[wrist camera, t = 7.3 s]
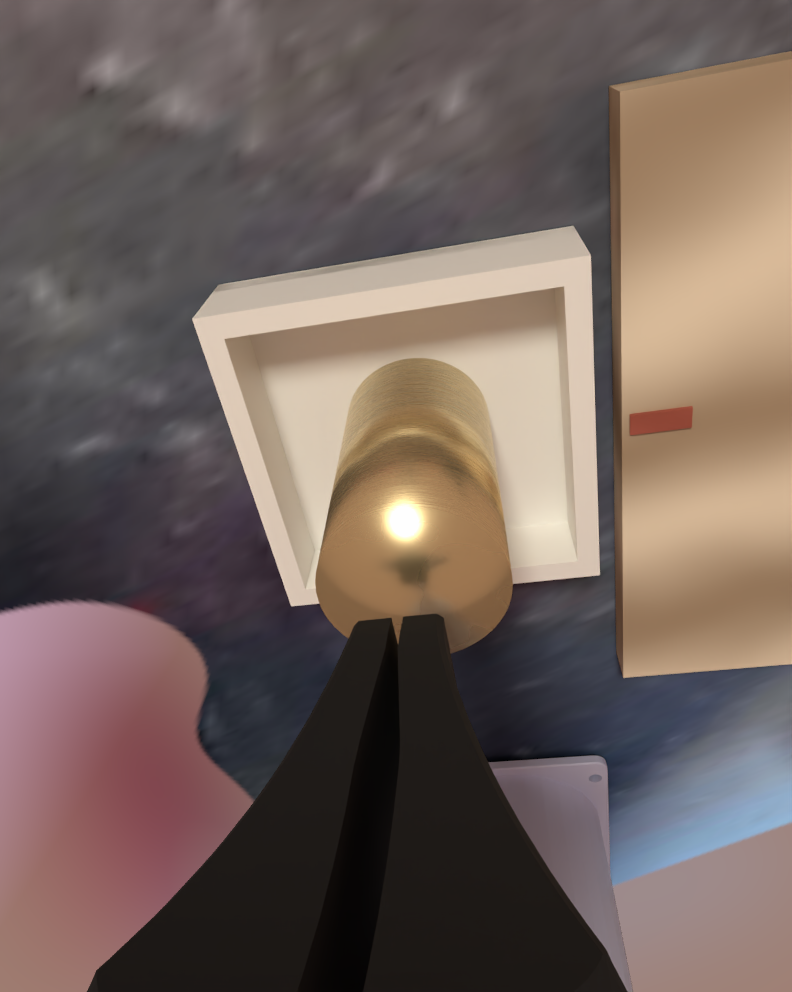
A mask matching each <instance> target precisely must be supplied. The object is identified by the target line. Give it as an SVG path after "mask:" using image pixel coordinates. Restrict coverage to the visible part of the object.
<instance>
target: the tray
mask: <svg viewBox="0 0 792 992" xmlns="http://www.w3.org/2000/svg"><path fill="white" fill-rule="evenodd" d="M192 320H193V323H194V326H195V329H196V331H197V334H198V337H199V340H200V343H201V346H202V349H203V352H204V355H205V358H206V360H207V363H208V366H209V369H210V372H211V375H212V378H213V381H214V384H215V387H216V389H217V392H218V395H219V398H220V401H221V404H222V407H223V410H224V413H225V416H226V418H227V421H228V424H229V427H230V430H231V433H232V436H233V439H234V442H235V445H236V447H237V450H238V453H239V456H240V459H241V462H242V465H243V468H244V471H245V474H246V476H247V479H248V482H249V485H250V488H251V491H252V494H253V497H254V500H255V503H256V505H257V508H258V511H259V514H260V517H261V520H262V523H263V526H264V529H265V532H266V534H267V537H268V540H269V543H270V546H271V549H272V552H273V555H274V558H275V561H276V563H277V566H278V569H279V572H280V575H281V578H282V581H283V584H284V587H285V590H286V592H287V595H288V598H289V601H290V604H291V606H299V605H309V604H319V601H318V597H317V594H316V586H315V578H316V570H317V565H318V560H319V555H320V550H321V545H322V540H323V535H324V530H325V525H326V520H327V515H328V510H329V505H330V500H331V495H332V490H333V485H334V480H335V475H336V470H337V465H338V460H339V455H340V450H341V445H342V440H343V435H344V430H345V425H346V420H347V415H348V410H349V406H350V402H351V400H352V397H353V395H354V393H355V392H356V390H357V388H358V387H359V386H360V384H361V383H362V382H363V381H364V380H365V379H366V378H367V377H368V376H369V375H370V374H372V373H373V372H374V371H376V370H377V369H379V368H381V367H383V366H384V365H387V364H389V363H392V362H394V361H398V360H402V359H409V358H427V359H434V360H438V361H442V362H445V363H447V364H450V365H452V366H454V367H456V368H457V369H459V370H461V371H462V372H463V373H465V374H466V375H467V376H468V377H470V378H471V379H472V380H473V381H474V383H475V384H476V385H477V386H478V388H479V389H480V391H481V392H482V394H483V396H484V398H485V401H486V403H487V407H488V411H489V418H490V425H491V432H492V439H493V446H494V453H495V460H496V467H497V474H498V481H499V488H500V495H501V502H502V509H503V515H504V522H505V529H506V536H507V543H508V550H509V557H510V564H511V571H512V580H513V584H517V583H527V582H537V581H547V580H557V579H567V578H577V577H587V576H597V575H600V562H599V527H598V492H597V457H596V421H595V386H594V351H593V316H592V280H591V255H590V253H589V251H588V250H587V248H586V246H585V245H584V243H583V241H582V240H581V238H580V236H579V235H578V233H577V231H576V229H575V228H574V226H569V227H563V228H557V229H551V230H545V231H539V232H533V233H527V234H521V235H515V236H509V237H503V238H497V239H491V240H485V241H478V242H472V243H466V244H460V245H454V246H448V247H442V248H436V249H430V250H424V251H418V252H412V253H406V254H400V255H394V256H388V257H382V258H376V259H370V260H364V261H358V262H352V263H346V264H340V265H334V266H328V267H322V268H316V269H310V270H304V271H298V272H292V273H286V274H280V275H274V276H268V277H262V278H256V279H250V280H244V281H238V282H232V283H226V284H220V285H218V286H217V287H216V289H215V290H214V291H213V293H212V294H211V295H210V297H209V298H208V299H207V300H206V302H205V303H204V304H203V306H202V307H201V308H200V310H199V311H198V312H197V313H196V315H195V316H194V317H193V319H192Z"/></svg>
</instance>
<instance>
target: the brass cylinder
mask: <svg viewBox="0 0 792 992" xmlns="http://www.w3.org/2000/svg"><path fill="white" fill-rule="evenodd" d="M315 586H316V594H317V597H318V601H319V604H320V606H321V608H322V610H323V612H324V613H325V615H326V617H327V618H328V620H329V621H330V622H331V623H332V624H333V625H334V627H335V628H336V629H338V630H339V631H340V632H341V633H342V634H343V635H345V636H346V637H347V638H349V637H350V634H351V632H352V629H353V627H354V625H355V624H356V623H357V622H358V621H363V620H373V619H383V618H392V622H393V626H394V630H395V635H396V639H397V643H399V636H400V630H401V625H402V620H403V617H404V616H414V615H425V614H435V613H437V614H439V615H440V616H442V617H443V618H444V622H445V627H446V633H447V638H448V643H449V648H450V653H454V652H457V651H459V650H462V649H465V648H467V647H469V646H471V645H473V644H474V643H476V642H478V641H479V640H481V639H482V638H484V637H485V636H486V635H487V634H489V633H490V632H491V631H492V630H493V629H494V628H495V627H496V626H497V625H498V623H499V622H500V621H501V619H502V618H503V616H504V615H505V613H506V611H507V609H508V606H509V604H510V600H511V597H512V589H513V580H512V571H511V564H510V557H509V550H508V543H507V536H506V529H505V522H504V515H503V509H502V502H501V495H500V488H499V481H498V474H497V467H496V460H495V453H494V446H493V439H492V432H491V425H490V418H489V411H488V407H487V403H486V401H485V398H484V396H483V394H482V392H481V391H480V389H479V388H478V386H477V385H476V384H475V383H474V381H473V380H472V379H471V378H470V377H468V376H467V375H466V374H465V373H463V372H462V371H461V370H459V369H457V368H456V367H454V366H452V365H450V364H447V363H445V362H442V361H438V360H434V359H427V358H409V359H402V360H398V361H394V362H392V363H389V364H387V365H384V366H383V367H381V368H379V369H377V370H376V371H374V372H373V373H372V374H370V375H369V376H368V377H367V378H366V379H365V380H364V381H363V382H362V383H361V384H360V386H359V387H358V388H357V390H356V392H355V393H354V395H353V397H352V400H351V402H350V406H349V410H348V415H347V420H346V425H345V430H344V435H343V440H342V445H341V450H340V455H339V460H338V465H337V470H336V475H335V480H334V485H333V490H332V495H331V500H330V505H329V510H328V515H327V520H326V525H325V530H324V535H323V540H322V545H321V550H320V555H319V560H318V565H317V570H316V578H315Z"/></svg>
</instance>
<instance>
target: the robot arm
mask: <svg viewBox="0 0 792 992" xmlns="http://www.w3.org/2000/svg"><path fill="white" fill-rule="evenodd" d="M87 992H633V989H632V984H631V979H630V974H629V969H628V963H627V958H626V953H625V948H624V943H623V938H622V933H621V928H620V923H619V917H618V912H617V907H616V902H615V897H614V892H613V887H612V882H611V877H610V843H609V804H608V769H607V764H606V761H605V759H604V758H603V757H600V756H597V755H590V756H575V757H560V758H545V759H530V760H515V761H501V762H488V761H487V759H486V757H485V755H484V753H483V750H482V748H481V746H480V744H479V742H478V739H477V737H476V735H475V732H474V730H473V728H472V726H471V723H470V721H469V718H468V716H467V713H466V711H465V708H464V705H463V702H462V700H461V697H460V694H459V691H458V689H457V685H456V680H455V674H454V669H453V664H452V659H451V653H450V648H449V643H448V638H447V633H446V627H445V622H444V618H443V617H442V616H440V615H439V614H437V613H435V614H425V615H414V616H404V617H403V620H402V625H401V630H400V636H399V643H397V639H396V635H395V630H394V626H393V622H392V618H383V619H373V620H363V621H358V622H357V623H356V624H355V625H354V627H353V629H352V632H351V634H350V637H349V639H348V641H347V643H346V646H345V648H344V650H343V652H342V655H341V657H340V659H339V661H338V663H337V665H336V667H335V669H334V671H333V673H332V675H331V677H330V679H329V681H328V683H327V685H326V687H325V689H324V691H323V693H322V694H321V696H320V698H319V700H318V702H317V704H316V706H315V707H314V709H313V711H312V713H311V715H310V717H309V718H308V720H307V722H306V724H305V725H304V727H303V728H302V730H301V732H300V733H299V735H298V737H297V738H296V740H295V742H294V743H293V745H292V746H291V748H290V750H289V751H288V753H287V755H286V756H285V758H284V759H283V761H282V762H281V764H280V765H279V767H278V768H277V770H276V771H275V773H274V774H273V776H272V777H271V779H270V780H269V782H268V783H267V785H266V786H265V787H264V789H263V790H262V792H261V793H260V794H259V796H258V797H257V798H256V800H255V801H254V803H253V804H252V805H251V807H250V808H249V809H248V811H247V812H246V813H245V814H244V816H243V817H242V818H241V819H240V821H239V822H238V823H237V824H236V826H235V827H234V828H233V830H232V831H231V832H230V833H229V835H228V836H227V837H226V838H225V840H224V841H223V842H222V843H221V844H220V846H219V847H218V848H217V849H216V851H215V852H214V853H213V854H212V855H211V856H210V857H209V858H208V860H207V861H206V862H205V863H204V864H203V865H202V866H201V867H200V868H199V869H198V871H197V872H196V873H195V874H194V875H193V876H192V877H191V878H190V879H189V880H188V881H187V883H185V885H184V886H183V887H182V888H181V889H180V890H179V891H178V892H177V893H176V895H174V896H173V897H172V899H171V900H170V901H169V902H168V903H167V904H166V905H165V906H164V907H163V908H162V909H161V910H160V911H159V912H158V913H157V914H156V915H155V916H154V917H153V918H152V919H151V920H150V921H149V922H148V923H147V924H146V925H145V926H144V927H143V928H141V929H140V930H139V931H138V932H137V933H136V934H135V935H134V936H133V937H132V938H131V939H130V940H129V941H128V942H127V943H126V944H125V945H124V946H122V947H121V948H120V949H119V950H118V951H117V952H116V953H115V954H114V955H113V956H112V957H111V958H110V959H109V960H108V961H106V962H105V963H104V964H103V965H102V966H101V967H100V968H99V969H98V970H96V973H95V975H94V978H93V980H92V982H91V984H90V987H89V989H88V991H87Z"/></svg>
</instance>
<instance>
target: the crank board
mask: <svg viewBox="0 0 792 992" xmlns="http://www.w3.org/2000/svg"><path fill="white" fill-rule="evenodd" d="M609 130H610V207H611V283H612V360H613V437H614V513H615V590H616V653H617V656H618V660H619V664H620V667H621V671H622V675H623V678H627V677H639V676H651V675H663V674H676V673H688V672H700V671H713V670H725V669H737V668H749V667H762V666H774V665H786V664H792V51H790V52H785V53H779V54H774V55H769V56H764V57H758V58H753V59H748V60H743V61H737V62H732V63H727V64H722V65H716V66H711V67H706V68H701V69H695V70H690V71H685V72H680V73H675V74H669V75H664V76H659V77H654V78H648V79H643V80H638V81H633V82H627V83H622V84H617V85H612V86H609Z"/></svg>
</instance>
